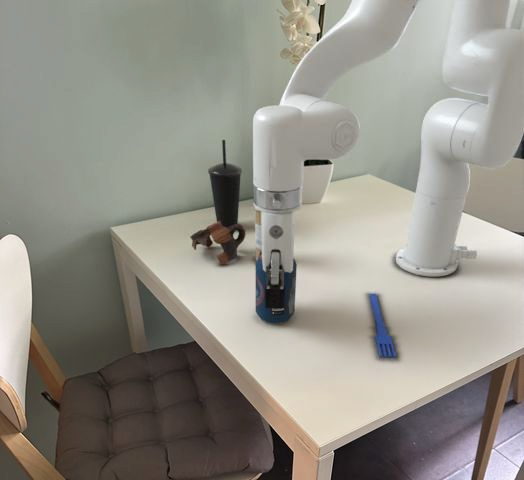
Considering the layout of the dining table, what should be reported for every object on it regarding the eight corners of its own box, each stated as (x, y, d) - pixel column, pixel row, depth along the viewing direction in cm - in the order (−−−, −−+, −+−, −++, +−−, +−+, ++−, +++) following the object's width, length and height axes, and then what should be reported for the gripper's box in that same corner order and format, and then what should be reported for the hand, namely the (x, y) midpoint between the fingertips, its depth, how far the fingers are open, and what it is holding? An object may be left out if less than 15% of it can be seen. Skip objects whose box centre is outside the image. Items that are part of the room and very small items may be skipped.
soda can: (254, 306, 93) (253, 246, 86) (291, 304, 94) (293, 244, 86) (257, 327, 88) (257, 265, 80) (297, 325, 88) (300, 263, 81)
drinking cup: (225, 218, 127) (221, 133, 115) (249, 225, 123) (248, 139, 111) (205, 228, 122) (198, 141, 110) (229, 236, 118) (226, 146, 106)
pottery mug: (210, 272, 105) (192, 236, 102) (199, 272, 113) (182, 239, 111) (259, 246, 107) (241, 210, 105) (244, 248, 116) (228, 215, 114)
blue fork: (365, 295, 96) (365, 293, 96) (379, 295, 96) (379, 293, 96) (379, 357, 81) (380, 355, 81) (396, 357, 81) (396, 355, 81)
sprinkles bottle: (280, 261, 108) (281, 199, 100) (262, 266, 106) (262, 204, 98) (268, 253, 111) (269, 192, 103) (251, 258, 109) (250, 197, 101)
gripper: (302, 218, 70) (297, 324, 81) (301, 177, 84) (296, 272, 95) (249, 216, 71) (250, 322, 81) (256, 176, 85) (256, 271, 95)
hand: (275, 295), depth 88 cm, fingers closed on soda can, 7 cm apart
